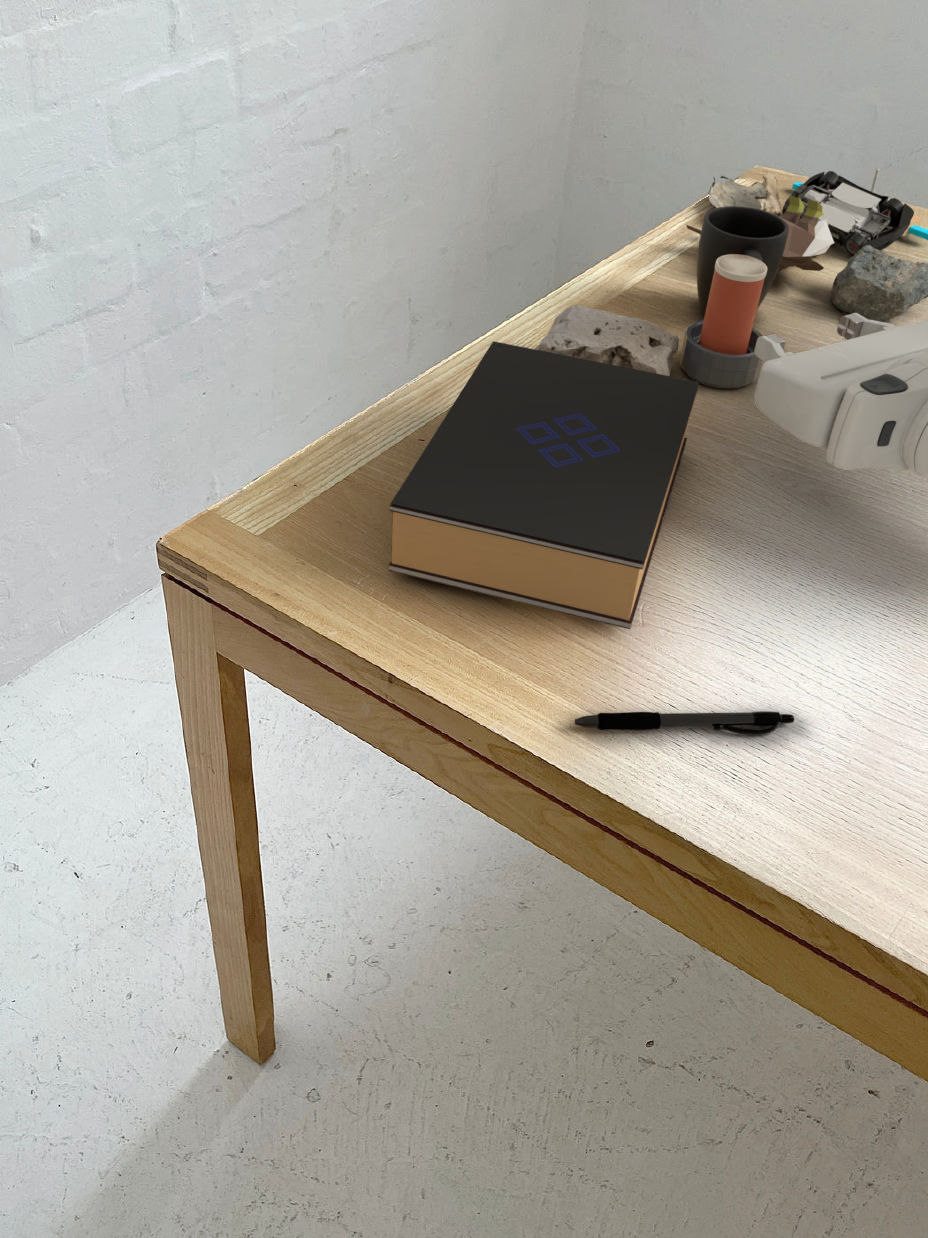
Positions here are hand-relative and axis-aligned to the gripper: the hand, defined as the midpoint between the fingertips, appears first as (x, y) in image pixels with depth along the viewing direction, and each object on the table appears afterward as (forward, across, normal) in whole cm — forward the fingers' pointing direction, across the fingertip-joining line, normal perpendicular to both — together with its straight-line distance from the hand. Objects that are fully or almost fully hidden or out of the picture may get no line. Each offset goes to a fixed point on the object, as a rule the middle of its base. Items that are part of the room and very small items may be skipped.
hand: (804, 332), depth 95 cm
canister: (+9, 0, +8) cm, 11 cm away
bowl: (+8, 0, +8) cm, 12 cm away
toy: (+26, -28, +1) cm, 39 cm away
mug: (+16, -8, +8) cm, 20 cm away
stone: (+12, +11, +8) cm, 18 cm away
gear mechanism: (+31, -36, +5) cm, 47 cm away
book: (-3, +27, +8) cm, 28 cm away
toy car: (+27, -34, +4) cm, 43 cm away
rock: (+13, -26, +8) cm, 30 cm away
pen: (-27, +32, +7) cm, 42 cm away
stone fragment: (+38, -26, +4) cm, 46 cm away
